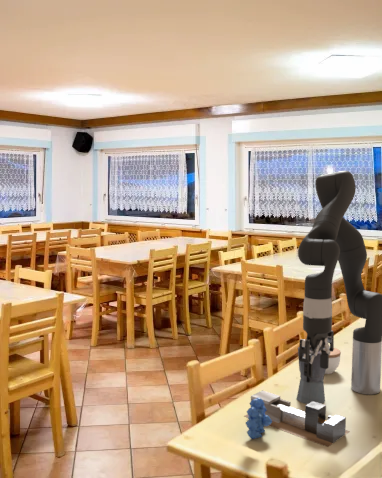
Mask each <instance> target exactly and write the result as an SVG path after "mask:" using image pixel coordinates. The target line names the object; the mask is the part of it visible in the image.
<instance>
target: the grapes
mask: <svg viewBox="0 0 382 478" xmlns="http://www.w3.org/2000/svg"><path fill="white" fill-rule="evenodd" d="M249 405H250V407H249V408H248V409H247V410H246V413H247V414H248V415H249V417H248V418H247V420H246V422H245V425H246V427H247V428H248V429H247V431H246V433H247V435H248V437H249V439H251V440H254V439H258V438H262V437H263V436H262V435H263V433H265V432H266V431H265V427H268V426H269V425H270V424H271V423H272V420H271V419H270V417H269V416H268V415H265V412H266V408H265V406H264V402H263V400H262V399H261V398H256V399H253V400H252V401H251V400H250V402H249ZM247 414H246V415H247Z"/></svg>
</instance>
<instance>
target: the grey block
mask: <svg viewBox="0 0 382 478" xmlns="http://www.w3.org/2000/svg"><path fill="white" fill-rule="evenodd" d="M276 406H279V407H281V421H282V422H284V423H287V424H290V425H293V426H296V427H299V428H301V429H304V430H305V431H308V432H311V433H314V434H317V423H318V422H321V423H324V422H325V421H327V420H326V416H327V411H326V410H327V405H326V404H324V403H322V404H320V403H317V402H314V401H313V402H311V403H309V404H305V405H304V407H305V410H301V409H299V408H298V409H297V408H295V407H292V406H290V407H289V406H286V405H283V404H280V403H279V404H277V405H276Z"/></svg>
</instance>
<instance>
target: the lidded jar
mask: <svg viewBox="0 0 382 478" xmlns="http://www.w3.org/2000/svg"><path fill="white" fill-rule="evenodd" d="M340 362H341V350H339V349H338V348H336V347H334V350H333V352H332V351H331V352H330V355H329V366H328V368H327V369H326V371H325V375H328V374H329V375H330V374H333V373H335V371H336V370H337V368H338V367H339V365H340Z"/></svg>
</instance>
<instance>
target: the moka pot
mask: <svg viewBox="0 0 382 478" xmlns="http://www.w3.org/2000/svg"><path fill="white" fill-rule="evenodd" d="M310 351H311V350H310ZM312 352H313V351H312ZM320 355H321V353H320V351H319V352H318V353H317V356H315V357H314V359H313V362H312V363H313V374H312V377H306V376H304V362H300V361H299V360H298V370H299V374H300V379H299V384H298V389H297V393H296V394H297V395H296V400H297V401H298V402H300V403H301V404H305V405H307V404H309V403H311V402H313V401H314V402H317V403H320V404H324V403H325V402H326V397H325V395H326V394H325V384H324V376H325V375H326V374H325V371H326V369H324V368H321V367H320ZM303 356H304V353H303ZM310 356H311V355H309V359H310ZM297 357H298V358H297V359H299V346H298V347H297Z"/></svg>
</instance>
